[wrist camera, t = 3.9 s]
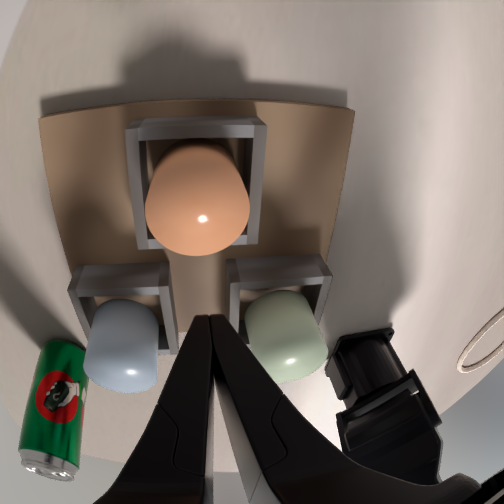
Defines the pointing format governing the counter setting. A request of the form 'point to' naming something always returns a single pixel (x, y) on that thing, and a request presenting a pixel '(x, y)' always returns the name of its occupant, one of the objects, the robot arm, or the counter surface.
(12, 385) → the counter surface
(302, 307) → the sage button
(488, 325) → the hand towel holder
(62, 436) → the soda can
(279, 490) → the robot arm
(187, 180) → the terracotta button
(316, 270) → the walnut button board
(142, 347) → the slate-blue button
